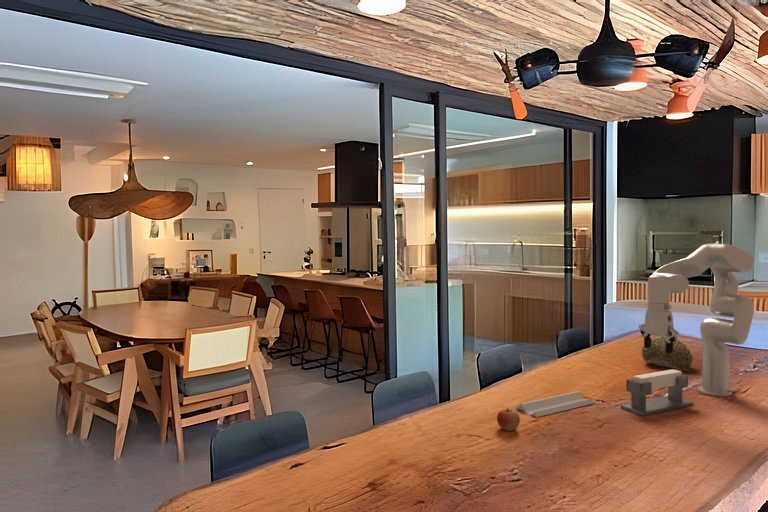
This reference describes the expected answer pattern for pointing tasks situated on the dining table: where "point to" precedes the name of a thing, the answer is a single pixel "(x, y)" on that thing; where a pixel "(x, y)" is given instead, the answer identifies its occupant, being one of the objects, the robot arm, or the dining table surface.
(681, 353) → the coral
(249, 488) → the dining table surface
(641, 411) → the bracket stand
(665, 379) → the rail
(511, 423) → the apple
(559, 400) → the crown molding
